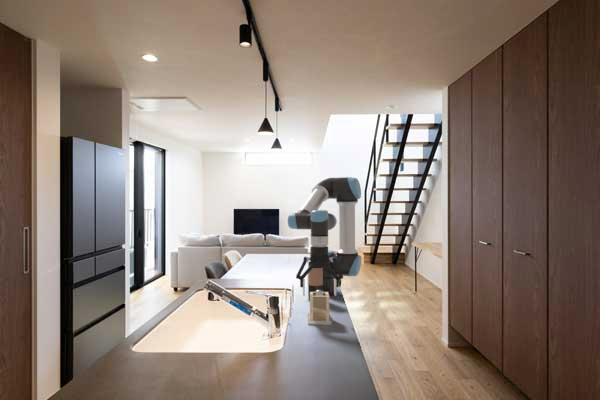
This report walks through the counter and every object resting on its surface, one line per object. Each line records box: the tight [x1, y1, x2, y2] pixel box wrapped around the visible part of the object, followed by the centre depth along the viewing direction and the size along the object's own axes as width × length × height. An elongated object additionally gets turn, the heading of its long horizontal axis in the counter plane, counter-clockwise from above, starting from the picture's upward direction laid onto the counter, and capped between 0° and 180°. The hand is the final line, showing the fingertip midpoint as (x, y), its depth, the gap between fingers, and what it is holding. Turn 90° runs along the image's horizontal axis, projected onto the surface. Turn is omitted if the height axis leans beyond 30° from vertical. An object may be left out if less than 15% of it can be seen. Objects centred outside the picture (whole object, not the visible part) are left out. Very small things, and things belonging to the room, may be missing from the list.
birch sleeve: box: [309, 292, 330, 320], centre depth 158 cm, size 8×8×10 cm
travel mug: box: [307, 260, 323, 303], centre depth 190 cm, size 8×8×20 cm
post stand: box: [307, 290, 333, 326], centre depth 158 cm, size 10×10×13 cm
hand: (319, 294), depth 159 cm, fingers open, 13 cm apart
